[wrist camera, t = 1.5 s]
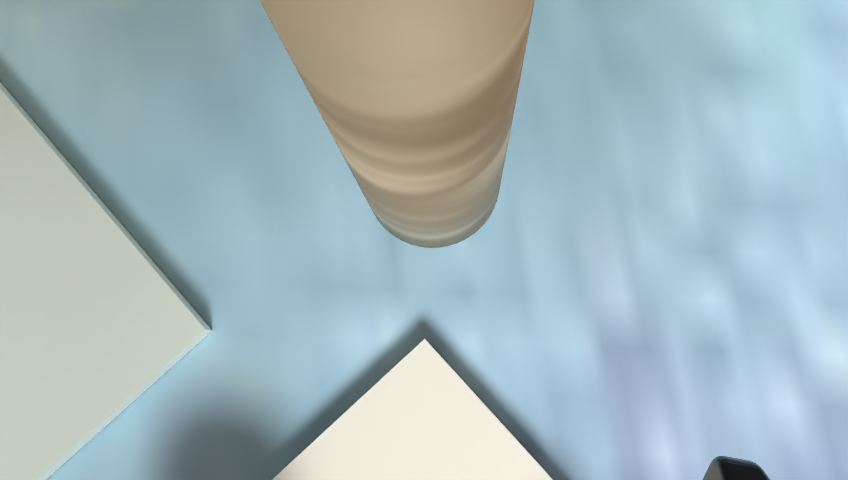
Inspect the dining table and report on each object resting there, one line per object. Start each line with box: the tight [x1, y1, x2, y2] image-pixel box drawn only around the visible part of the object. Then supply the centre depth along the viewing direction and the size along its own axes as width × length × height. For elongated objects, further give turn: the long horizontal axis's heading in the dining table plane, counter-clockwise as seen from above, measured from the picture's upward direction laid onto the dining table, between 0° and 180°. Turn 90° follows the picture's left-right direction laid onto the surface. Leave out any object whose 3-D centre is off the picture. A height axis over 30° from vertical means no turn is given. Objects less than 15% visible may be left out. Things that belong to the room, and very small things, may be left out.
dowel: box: [260, 0, 534, 248], centre depth 16 cm, size 4×4×12 cm
